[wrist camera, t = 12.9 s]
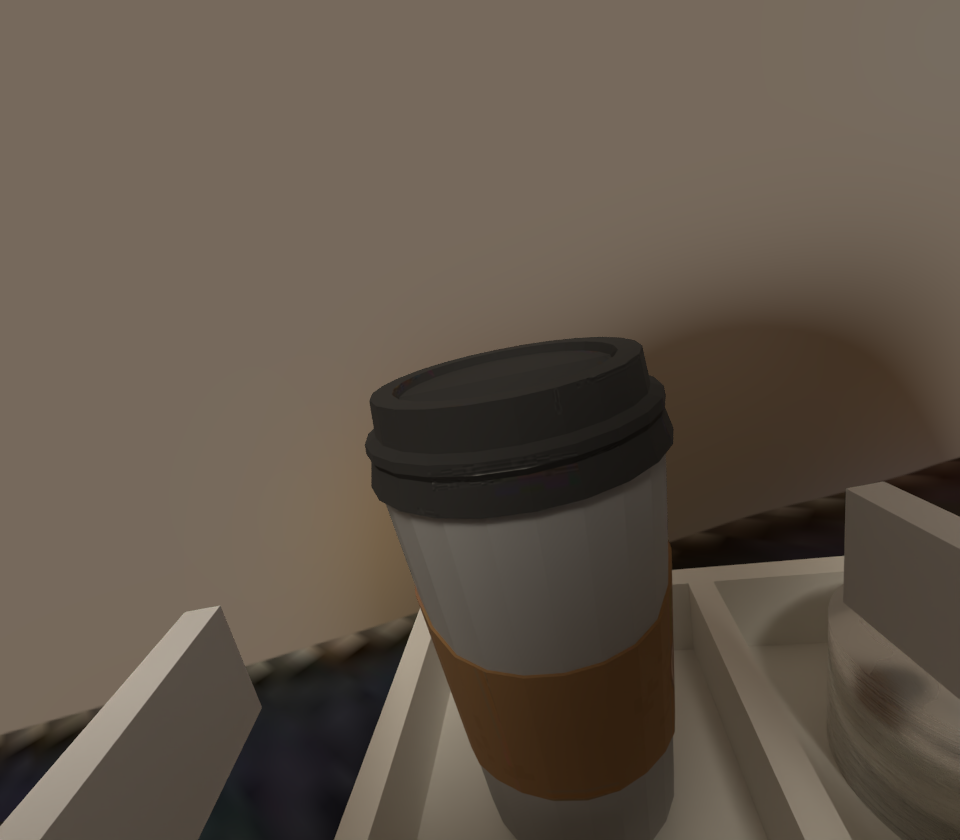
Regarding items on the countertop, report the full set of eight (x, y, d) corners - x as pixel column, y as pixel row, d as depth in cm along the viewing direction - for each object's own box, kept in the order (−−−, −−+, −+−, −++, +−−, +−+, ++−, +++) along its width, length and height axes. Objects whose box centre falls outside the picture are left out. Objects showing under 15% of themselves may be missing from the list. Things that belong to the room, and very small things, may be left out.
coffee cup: (767, 905, 13) (739, 359, 9) (463, 949, 13) (299, 447, 9) (653, 664, 21) (611, 324, 17) (467, 696, 21) (382, 371, 17)
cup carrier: (1012, 633, 20) (1025, 541, 19) (1759, 1216, 8) (1941, 1058, 6) (445, 663, 24) (426, 590, 23) (345, 1057, 12) (293, 947, 11)
